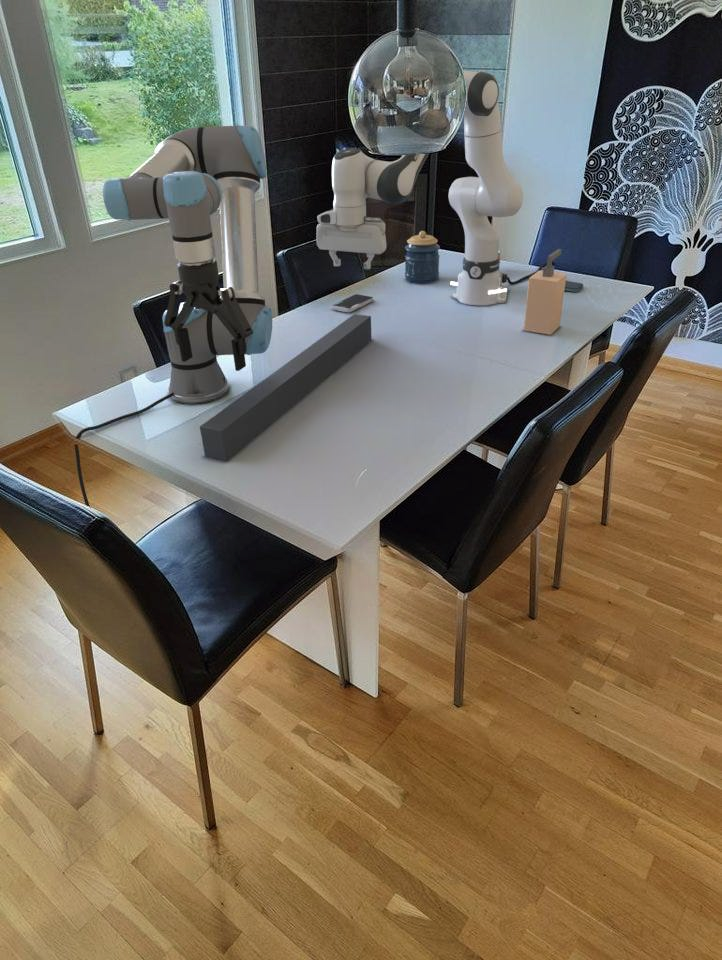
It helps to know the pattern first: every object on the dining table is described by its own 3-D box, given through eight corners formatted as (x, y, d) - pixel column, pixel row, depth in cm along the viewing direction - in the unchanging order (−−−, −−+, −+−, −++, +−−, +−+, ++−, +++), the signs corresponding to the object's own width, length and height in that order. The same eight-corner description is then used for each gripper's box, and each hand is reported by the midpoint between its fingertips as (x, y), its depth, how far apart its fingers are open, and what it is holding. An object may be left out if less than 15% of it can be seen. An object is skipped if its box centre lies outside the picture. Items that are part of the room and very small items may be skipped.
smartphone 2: (577, 289, 235) (536, 281, 242) (576, 293, 236) (535, 286, 243) (584, 283, 240) (544, 276, 247) (583, 287, 241) (543, 280, 248)
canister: (411, 285, 249) (411, 236, 239) (400, 276, 259) (400, 228, 250) (444, 281, 252) (445, 232, 242) (431, 272, 262) (432, 225, 253)
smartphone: (373, 297, 235) (349, 309, 225) (373, 300, 236) (349, 313, 226) (355, 294, 239) (330, 305, 229) (356, 297, 240) (331, 309, 229)
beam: (225, 461, 147) (220, 431, 143) (205, 456, 149) (199, 426, 145) (371, 340, 205) (370, 316, 201) (355, 337, 207) (354, 314, 203)
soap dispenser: (550, 335, 203) (559, 261, 191) (523, 330, 207) (530, 257, 195) (564, 322, 212) (573, 250, 200) (538, 317, 216) (545, 247, 204)
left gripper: (262, 260, 127) (273, 365, 138) (157, 250, 136) (177, 349, 148) (240, 271, 121) (254, 379, 133) (132, 260, 131) (154, 362, 142)
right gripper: (389, 215, 180) (390, 267, 188) (322, 211, 188) (325, 261, 195) (380, 220, 176) (381, 273, 183) (311, 216, 183) (315, 267, 191)
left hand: (213, 363), depth 140 cm, fingers open, 13 cm apart
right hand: (352, 267), depth 189 cm, fingers open, 8 cm apart
